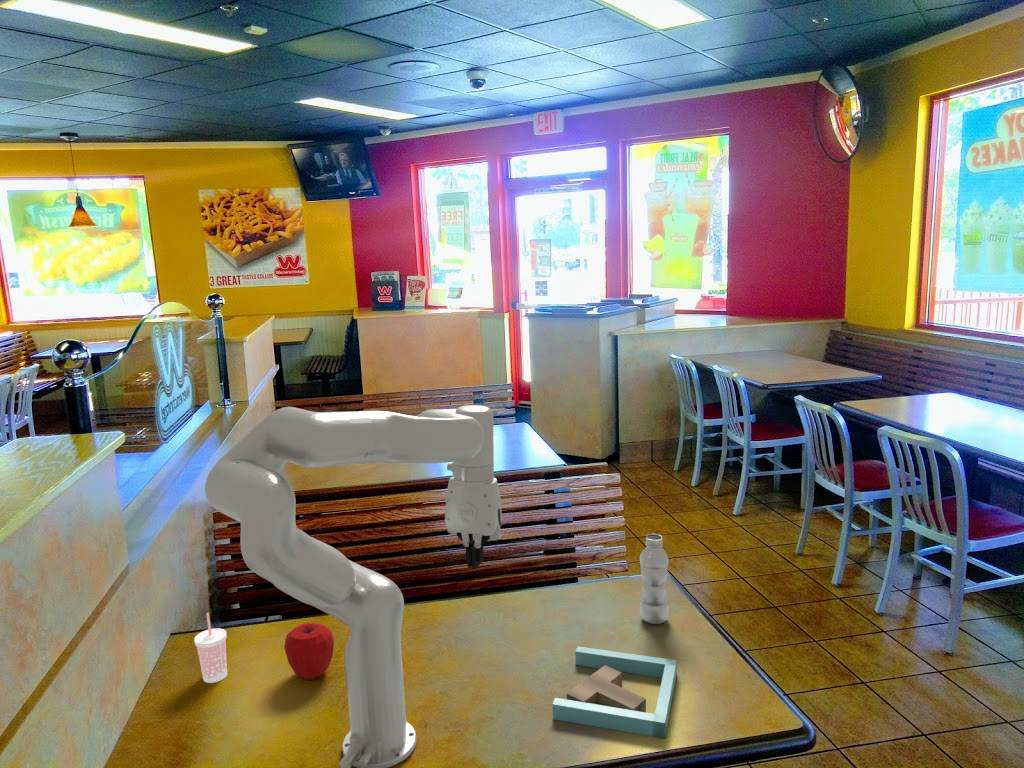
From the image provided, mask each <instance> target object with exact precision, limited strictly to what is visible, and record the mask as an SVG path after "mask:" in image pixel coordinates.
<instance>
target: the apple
mask: <svg viewBox="0 0 1024 768" xmlns="http://www.w3.org/2000/svg"><path fill="white" fill-rule="evenodd" d="M334 645H335V637H334V635H333V631H332V630H331V629H330V627H328V626H326V625H324V624H323V623H319V622H305V623H302V624H299V625H296V626H295V627H294V628H292V629H291V631H289V632H288V633H287V634H286V636H285V641H284V647H283V649H284V651H285V656H286V659H287V662H288V664H289V666H290V667H291V669H292V670H293V672H294V674H295V675H297V676H298V677H300V678H302V679H304V680H308V681H310V680H314V678H315V679H317V678H318V677H320V676H321V675H322V674H324V673H325V672H326V671H327V670H328V669H329V667H330V664H331V662H332V658H333V655H334Z"/></svg>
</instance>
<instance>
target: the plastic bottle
mask: <svg viewBox="0 0 1024 768" xmlns="http://www.w3.org/2000/svg"><path fill="white" fill-rule="evenodd" d="M663 545H664V543H663V535H660V534H657V533H650V534H646V537H645V546H646V547H645V548H644V549H643V550H642V551H641V553H640V555H639V566H640V572H641V573H640V574H641V581H642V582H641V584H642V586H641V598H640V603H639V614H640V617H641V618H642V620H643V621H644V622H646V623H648V624H652V625H659V624H663V623H665V622H666V621H667V619H668V618H669V612H670V611H669V610H670V609H669V604H668V597H667V596H668V595H667V575H668V569H669V557H668V554H667V552H666V550H665V549H664V548H663Z"/></svg>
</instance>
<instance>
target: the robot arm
mask: <svg viewBox="0 0 1024 768" xmlns="http://www.w3.org/2000/svg"><path fill="white" fill-rule="evenodd" d="M494 447H495V446H494V413H493V411H492V409H491V408H490V407H489V406H486V405H478V404H470V405H469V404H467V405H462V406H459V407H457V408H449V409H439V408H438V409H436V408H435V409H433V408H432V409H426V410H424V411H422V412H420V413H418V414H417V415H416V416H414V415H408V414H403V413H397V412H393V411H387V410H386V411H385V410H358V411H356V410H353V411H349V410H348V411H311V410H307V409H302V408H298V407H294V406H284V407H281V408H279V409H276V410H275V411H273V412H271V413H270V414H268V415H267V416H265V417H264V418H263V419H262V420H260V422H258V423H256V425H254V427H253V428H252V429H250V431H248V432H247V433H246V434H245V435H244V436H243V437H242V438H241V439H240V440H239V441H237V443H236V444H235V445H233V446H232V448H230V449H229V450H228V451H227V452H226V453H225V454H224V455H223V456H222V457H221V458H220V459H219V460H218V461H217V462H216V463H215V464H214V465H213V466H212V468H211V469H210V471H209V473H208V474H207V477H206V480H205V483H204V492H205V497H206V500H207V502H208V503H209V504H210V506H211V507H212V508H214V509H215V510H216V511H217V512H219V513H221V514H223V515H225V516H227V517H229V518H231V519H233V520H234V521H236V522H238V523H240V540H239V541H240V543H239V544H240V551H241V555H242V558H243V561H244V562H245V565H246V566H247V567H248V568H249V570H251V571H252V572H253V573H255V574H257V576H259V577H261V578H263V579H265V580H267V581H268V582H270V583H271V584H273V586H274V587H275V588H277V589H278V590H280V591H282V592H283V593H285V594H286V595H288V596H290V597H292V598H294V599H296V600H297V601H299V602H302V603H304V604H306V605H310V606H312V607H314V608H316V609H318V610H320V611H321V612H324V613H325V614H327V615H329V616H331V617H332V618H334V619H336V620H338V622H340V623H342V624H343V625H345V626H346V627H347V628H348V631H349V636H348V639H347V642H346V644H345V646H344V651H343V654H344V655H343V660H344V670H345V681H346V693H347V705H348V706H347V707H348V717H349V732H348V733H347V734H346V735H345V737H344V739H343V741H342V744H341V745H342V746H341V747H342V754H343V757H342V758H341V760H339V763H338V764H339V767H340V768H352V766H353V767H355V768H390V767H393V766H396V765H397V764H400V763H401V762H403V761H404V760H406V759H407V758H408V757H410V755H411V754H412V753H413V752H414V750H415V748H416V745H417V733H416V729H415V728H414V727H413V725H412V724H410V723H409V722H408V721H407V716H406V715H407V714H406V712H407V711H406V700H405V685H404V670H403V659H402V657H403V656H402V642H401V641H402V623H403V616H404V610H405V601H404V595H403V593H402V591H401V589H400V588H399V587H398V585H397V584H396V583H395V582H394V581H393V580H391V578H388V577H387V576H384V575H383V574H381V573H378V572H377V571H375V570H372V569H370V568H367V567H365V566H362V565H361V564H358V563H357V562H354V561H352V560H350V559H349V558H347V557H346V556H345V554H343V553H342V552H341V551H339V550H338V549H336V548H335V547H333V546H331V545H330V544H327V543H325V542H323V541H321V540H318V539H316V538H314V537H313V536H310V535H309V534H307V533H306V532H305V531H303V530H302V529H300V528H298V526H297V524H296V523H297V522H296V512H297V511H296V510H297V509H296V508H297V504H296V503H297V501H296V494H295V491H294V487H293V486H292V484H291V482H290V481H289V480H288V479H287V478H286V477H285V476H284V475H283V474H281V473H279V471H280V470H282V468H283V467H284V466H285V465H286V464H287V463H291V464H294V465H296V466H300V467H303V468H307V469H308V468H310V469H319V468H321V469H322V468H334V467H343V466H354V465H365V464H375V463H377V464H378V463H381V464H382V463H384V464H385V463H386V464H445V463H447V465H446V470H447V471H450V472H452V476H451V477H449V480H448V485H447V489H446V495H445V496H446V497H445V509H444V524H445V528H446V529H447V533H449V534H451V535H453V536H457V537H458V539H459V540H460V541H461V542H462V545H463V547H465V561H466V562H467V568H473V569H477V568H478V567H479V566H480V565H481V564H482V563H483V562H484V545H485V544H486V543H487V542H488V541H494V540H495V541H496V540H499V539H500V538H501V537H503V535H502V529H501V527H502V525H503V524H502V523H503V522H502V521H503V515H502V514H503V513H502V512H503V510H502V500H501V493H500V487H499V483H498V480H497V478H496V477H495V476H494V474H495V472H494V471H495V468H494V467H495V465H494V464H495V463H494V462H495V461H494V460H495V457H494V451H495V450H494Z"/></svg>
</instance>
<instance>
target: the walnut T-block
mask: <svg viewBox="0 0 1024 768" xmlns="http://www.w3.org/2000/svg"><path fill="white" fill-rule="evenodd" d="M566 700H573V701H579V702H585V703H591V704H597V705H603V706H609V707H615V708H621V709H627V710H633V711H639V712H645V713H647V698H645V697H644V696H641V695H639V694H637V693H635V692H632V691H630V690H629V689H626V688H624V687H623V672H620V671H617V670H615V669H613V668H610V667H608V666H606V665H604V666H603V667H602V668H598V670H596V671H595V672H594V673H592V674H591V675H589V676H588V677H587V678H585V679H583V681H581V682H580V683H579V684H577V685H576V686H574V687H572V688H571V689H570V690H569V691H567V693H566Z"/></svg>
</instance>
